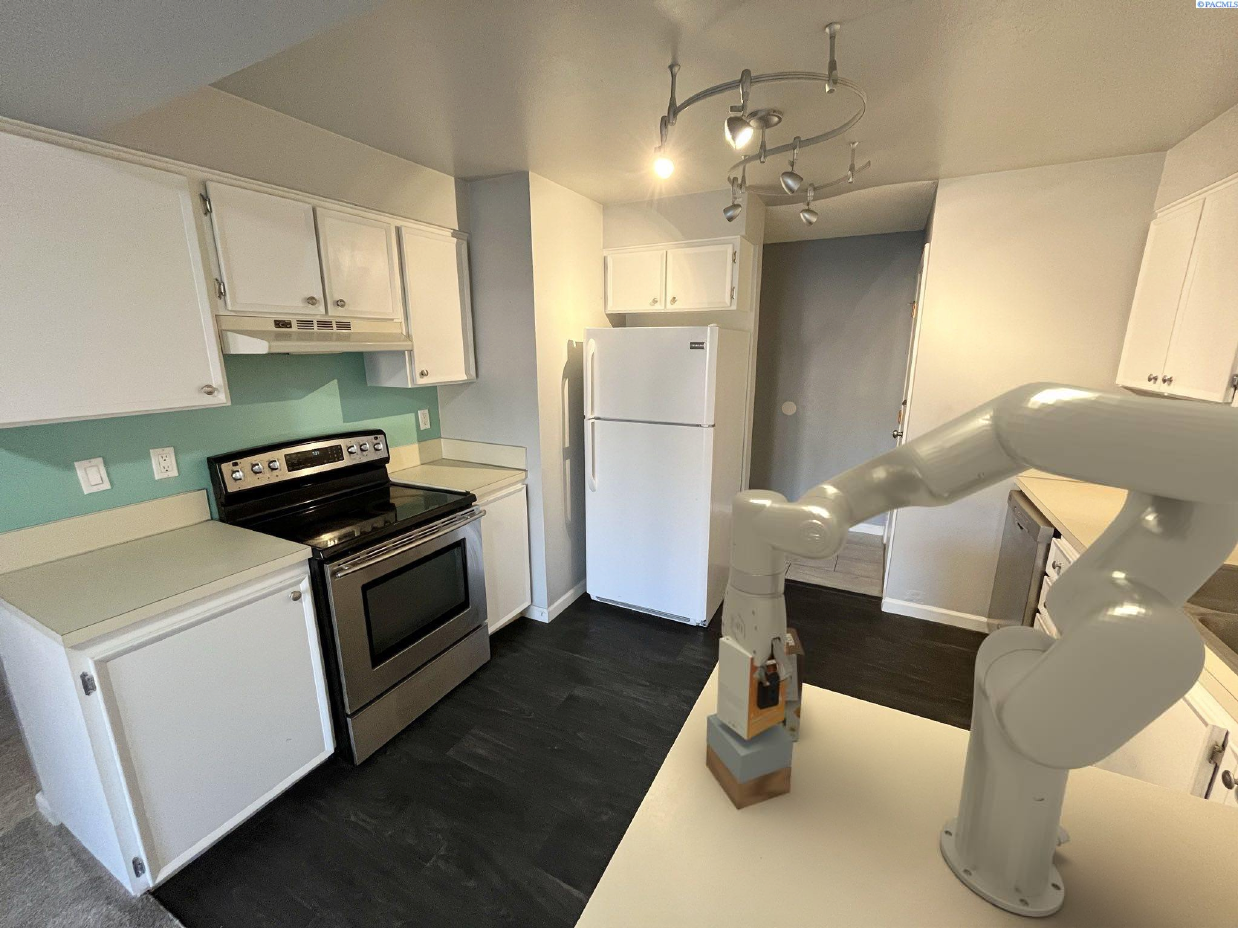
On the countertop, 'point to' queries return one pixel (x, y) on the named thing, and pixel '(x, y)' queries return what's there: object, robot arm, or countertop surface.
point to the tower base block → (748, 783)
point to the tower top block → (750, 749)
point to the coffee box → (793, 686)
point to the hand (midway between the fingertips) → (751, 689)
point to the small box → (744, 691)
